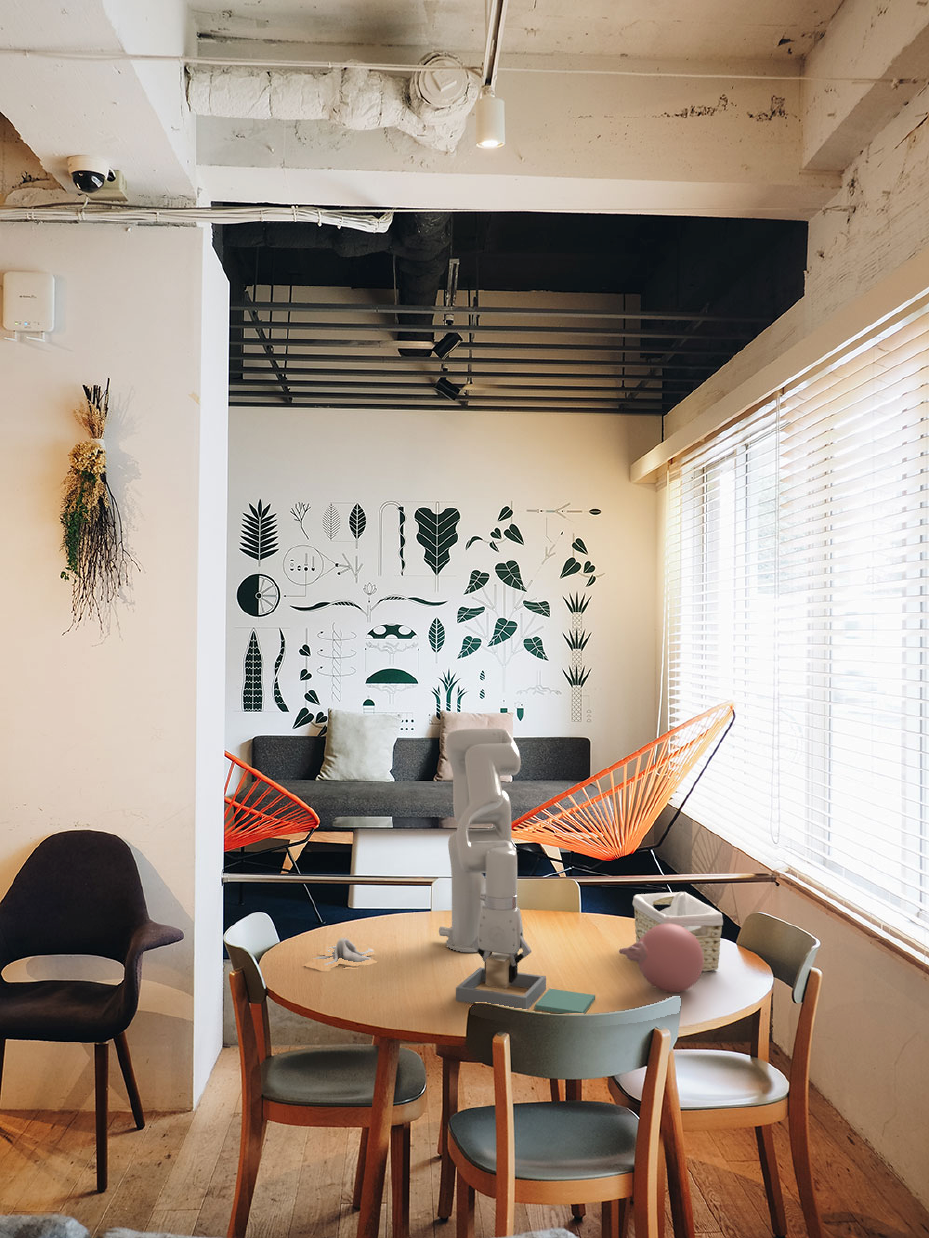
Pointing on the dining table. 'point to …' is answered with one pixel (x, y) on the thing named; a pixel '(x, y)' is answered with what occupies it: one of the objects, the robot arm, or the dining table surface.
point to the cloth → (346, 952)
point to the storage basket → (682, 920)
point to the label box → (498, 970)
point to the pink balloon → (668, 957)
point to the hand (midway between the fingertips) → (501, 978)
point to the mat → (565, 1001)
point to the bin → (472, 995)
